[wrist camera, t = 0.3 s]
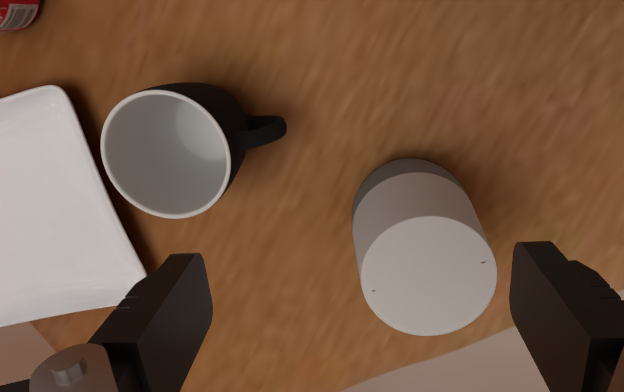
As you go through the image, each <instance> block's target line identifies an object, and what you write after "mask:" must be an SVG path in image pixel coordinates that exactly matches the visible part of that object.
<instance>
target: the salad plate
mask: <svg viewBox="0 0 624 392" xmlns="http://www.w3.org/2000/svg"><path fill="white" fill-rule="evenodd" d="M146 276H147V272H146V270H145V268H144V267H143V265H142V263H141V261H140V259H139V257H138V255H137V253H136V251H135V249H134V248H133V246H132V244H131V242H130V240H129V238H128V236H127V234H126V232H125V230H124V228H123V226H122V224H121V221H120V219H119V217H118V215H117V213H116V211H115V209H114V206H113V204H112V202H111V200H110V197H109V195H108V193H107V190H106V188H105V186H104V183H103V181H102V179H101V176H100V174H99V171H98V169H97V166H96V164H95V161H94V159H93V156H92V154H91V151H90V148H89V146H88V143H87V141H86V138H85V135H84V133H83V130H82V127H81V125H80V122H79V119H78V116H77V114H76V111H75V109H74V106H73V104H72V102H71V100H70V98H69V97H68V95H67V94H66V92H65V91H64V90H63V89H62V88H60V87H58V86H55V85H46V86H40V87H36V88H33V89H29V90H26V91H23V92H20V93H17V94H13V95H10V96H7V97H4V98H1V99H0V327H3V326H7V325H12V324H17V323H22V322H27V321H32V320H37V319H41V318H46V317H52V316H57V315H62V314H67V313H73V312H78V311H84V310H90V309H97V308H104V307H110V306H116V305H118V304H119V303H120V302H121V301H122V299H125V296H126V294H127V293H128V292H129V291H130V290H131V288H132V287H133V286H134V285H135V284H136V283H137V282H139V281H140V280H142V279H143V278H145V277H146Z"/></svg>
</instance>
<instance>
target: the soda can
mask: <svg viewBox="0 0 624 392" xmlns="http://www.w3.org/2000/svg"><path fill="white" fill-rule="evenodd" d="M39 3H40V0H0V34H3V33H8V32H14V31H18V30H21V29H23V28H25V27H27V26H28V25H29V24H30V23H31V22H32V21H33V20H34V18H35V16H36V14H37V12H38V9H39Z"/></svg>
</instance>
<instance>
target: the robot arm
mask: <svg viewBox="0 0 624 392" xmlns="http://www.w3.org/2000/svg"><path fill="white" fill-rule="evenodd" d="M509 303H510V311H511V315H512V318H513V321H514V323H515V325H516V327H517V329H518V331H519V333H520V335H521V336H522V339H523V340H524V342H525V344H526V346H527V348H528V350H529V352H530V354H531V356H532V358H533V359H534V362H535V363H536V365H537V367H538V369H539V371H540V373H541V375H542V377H543V379H544V381H545V382H546V385H547V386H548V388H549V390H550V392H624V300H621V297H620V296H619V295H618V294H617V293H616V292H615V291H614V290H613V289H612V288H610V285H609V284H608V283H607V282H606V281H605V280H604V279H603V278H602V277H601V276H600V275H599V274H598V273H597V272H596V271H594V270H593V269H591V268H589V267H587V266H585V265H584V264H582V263H580V262H578V261H576V260H574V261H568V260H567V259H566V258H565V256H564V255H563V254H562V253H561V252H560V251H559V250H558V248H557V247H556V246H555V245H554V244H553V243H552V242H551V241H537V242H517V243H516V244H515V247H514V251H513V261H512V272H511V283H510V294H509ZM212 315H213V305H212V298H211V294H210V289H209V284H208V279H207V274H206V269H205V264H204V260H203V257H202V255H201V254H200V253H181V254H171V255H169V256H168V258H167V259H166V260H165V262H164V263H163V264H162V265H161V267H160V268H159V269H158V271H157V272H156V273H150V274H149V275H147V276H146V277H145V278H143V279H142V280H140V281H139V282H137V283H136V284H135V285H134V286H133V287H132V288H131V290H130V291H129V292H128V293H127V294H126V296H125V299H122V301H121V302H120V303H119V304H118V305H117V307H116V310H113V312H112V313H111V314H110V315H109V316H108V318H107V319H106V320H105V321H104V323H103V324H102V325H101V326H100V327H99V329H98V330H97V331H96V332H95V334H94V335H93V336H92V337H91V338H90V340H89V341H88V342H87V343H86V344H79V345H75V346H71V347H69V348H66V349H63V350H61V351H59V352H57V353H55V354H54V355H52V356H50V357H49V358H47V359H46V360H45V361H44V362H42V363H41V364H40V365H39V366H38V367H37V368H36V369H35V371H34V372H33V374H32V375H31V378H30V379H27V380H23V381H19V382H14V383H10V384H6V385H2V386H0V392H180V390H181V387H182V385H183V383H184V381H185V379H186V377H187V375H188V372H189V370H190V368H191V366H192V364H193V362H194V359H195V357H196V355H197V353H198V351H199V349H200V347H201V344H202V342H203V340H204V338H205V336H206V334H207V332H208V329H209V327H210V325H211V321H212Z"/></svg>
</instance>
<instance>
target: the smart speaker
mask: <svg viewBox="0 0 624 392" xmlns="http://www.w3.org/2000/svg"><path fill="white" fill-rule="evenodd" d="M352 232H353V239H354V245H355V251H356V257H357V263H358V269H359V275H360V281H361V286H362V291H363V294H364V297H365V299H366V301H367V303H368V305H369V306H370V308H371V309H372V310H373V312H374V313H375V314H376V315H377V316H378V317H379V318H380V319H381V320H382V321H384V322H385V323H386V324H388V325H389V326H391V327H393V328H395V329H397V330H399V331H402V332H405V333H408V334H413V335H420V336H434V335H442V334H446V333H450V332H453V331H456V330H458V329H460V328H462V327H464V326H466V325H468V324H469V323H471V322H472V321H474V320H475V319H476V318H477V317H478V316H479V315H480V314H481V313H482V312H483V311H484V310H485V309H486V307H487V306H488V304H489V303H490V301H491V299H492V297H493V294H494V291H495V288H496V283H497V266H496V261H495V258H494V255H493V252H492V250H491V247H490V245H489V243H488V240H487V238H486V236H485V234H484V231H483V229H482V227H481V224H480V222H479V220H478V217H477V215H476V213H475V210H474V208H473V206H472V203H471V201H470V199H469V197H468V196H467V194H466V192H465V191H464V189H463V187H462V186H461V185H460V183H459V182H458V181H457V180H456V178H455V177H454V176H453V175H452V174H450V173H449V172H448V171H447V170H445V169H444V168H442V167H441V166H439V165H437V164H435V163H432V162H430V161H426V160H422V159H416V158H404V159H398V160H394V161H391V162H388V163H386V164H384V165H382V166H380V167H378V168H377V169H376V170H374V171H373V172H372V173H371V174H370V175H369V176H368V177H367V178H366V179H365V180H364V182H363V183H362V185H361V186H360V188H359V190H358V192H357V194H356V196H355V200H354V203H353V208H352Z"/></svg>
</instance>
